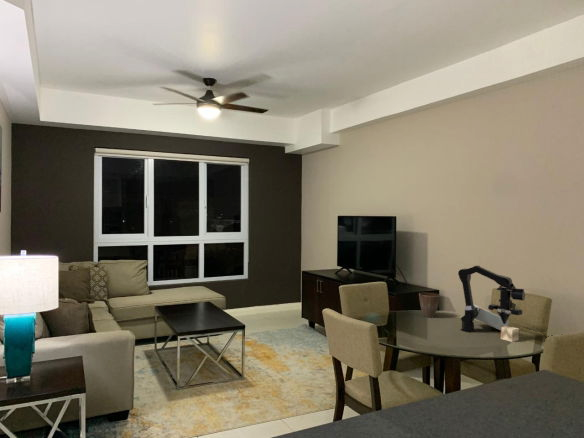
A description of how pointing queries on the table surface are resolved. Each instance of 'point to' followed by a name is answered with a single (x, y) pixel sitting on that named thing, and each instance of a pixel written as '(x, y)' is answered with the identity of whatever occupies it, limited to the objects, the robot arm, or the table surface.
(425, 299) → the plant pot
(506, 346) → the table surface
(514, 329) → the birch block
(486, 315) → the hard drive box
